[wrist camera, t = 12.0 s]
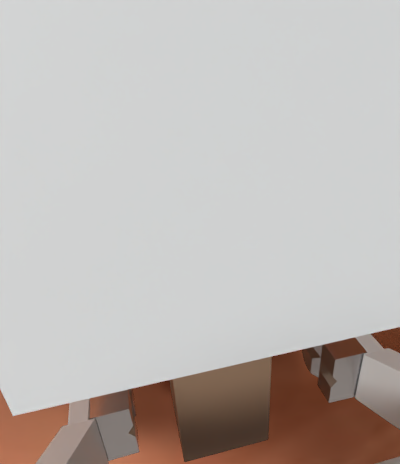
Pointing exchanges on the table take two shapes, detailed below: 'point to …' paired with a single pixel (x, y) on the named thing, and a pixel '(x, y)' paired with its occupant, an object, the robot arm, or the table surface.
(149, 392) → the table surface
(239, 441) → the walnut bar
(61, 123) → the tunnel block
